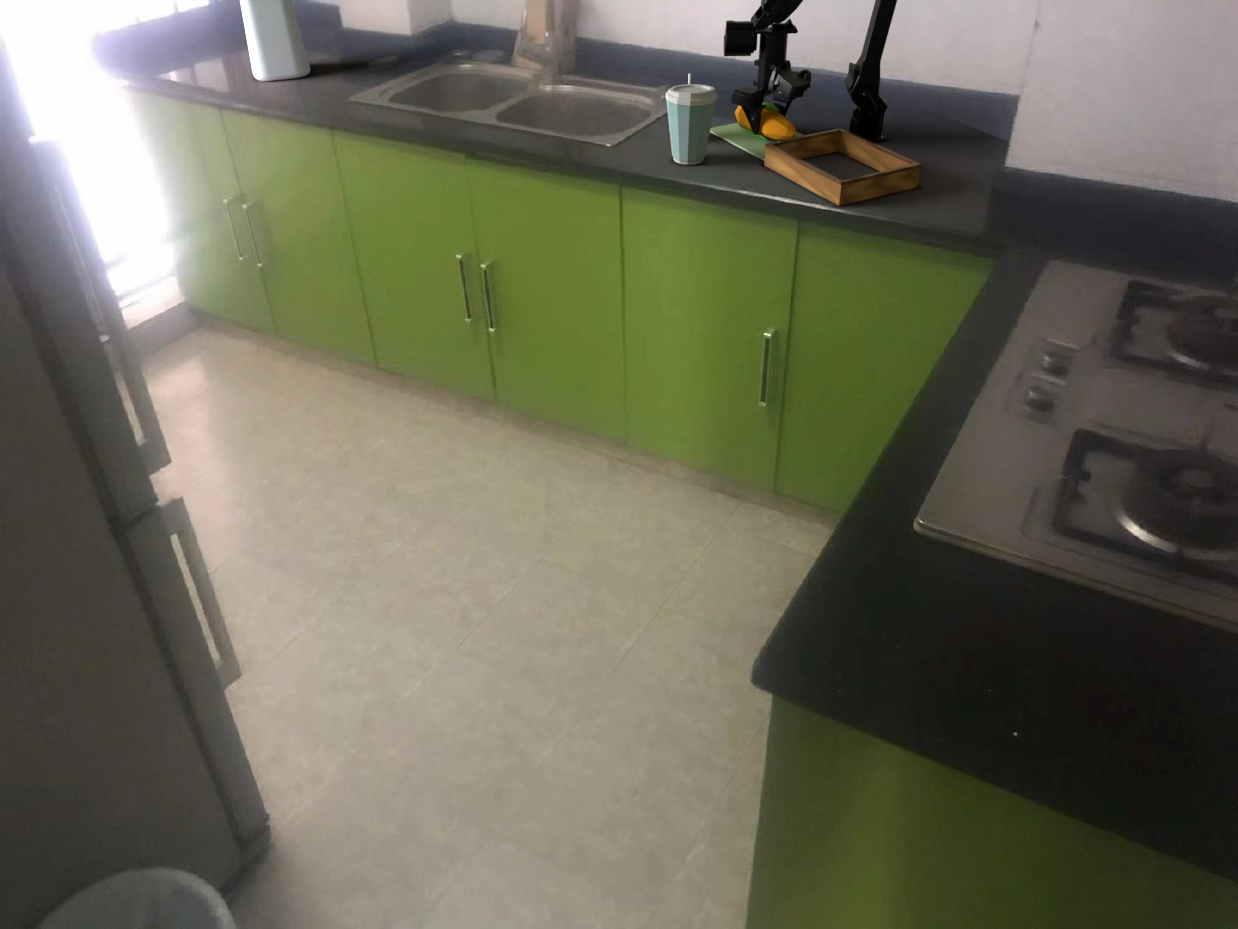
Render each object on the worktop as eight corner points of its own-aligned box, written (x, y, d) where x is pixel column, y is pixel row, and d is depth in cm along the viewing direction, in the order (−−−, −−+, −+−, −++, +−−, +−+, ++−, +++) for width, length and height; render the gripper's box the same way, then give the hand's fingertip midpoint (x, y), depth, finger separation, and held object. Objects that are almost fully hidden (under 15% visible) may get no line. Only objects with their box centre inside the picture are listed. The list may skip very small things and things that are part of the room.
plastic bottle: (312, 77, 258) (288, -38, 241) (254, 83, 254) (226, -33, 237) (308, 63, 269) (285, -47, 252) (253, 69, 266) (226, -43, 249)
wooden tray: (838, 149, 203) (840, 127, 201) (918, 187, 185) (922, 163, 183) (763, 165, 197) (764, 143, 194) (838, 206, 179) (841, 182, 176)
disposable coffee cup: (656, 156, 203) (656, 83, 194) (700, 148, 206) (703, 76, 197) (677, 171, 195) (679, 96, 186) (724, 163, 198) (727, 89, 189)
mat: (765, 119, 221) (765, 116, 221) (828, 149, 204) (829, 146, 203) (706, 130, 215) (706, 128, 215) (766, 162, 198) (766, 160, 198)
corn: (754, 87, 213) (811, 110, 199) (753, 121, 218) (809, 145, 204) (726, 95, 210) (782, 118, 196) (727, 129, 215) (782, 154, 201)
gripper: (772, 71, 189) (767, 149, 199) (831, 53, 199) (823, 128, 208) (731, 61, 196) (727, 137, 205) (790, 44, 206) (784, 117, 215)
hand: (767, 130), depth 208 cm, fingers closed on corn, 7 cm apart
